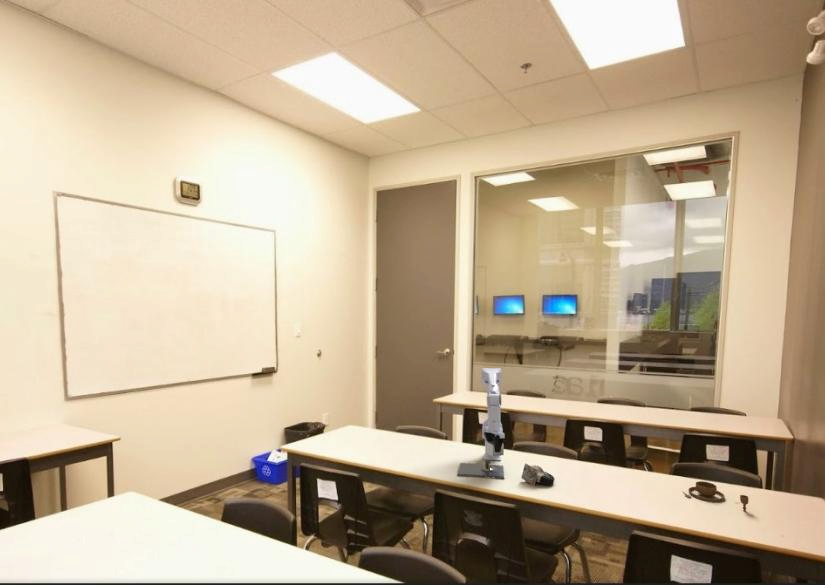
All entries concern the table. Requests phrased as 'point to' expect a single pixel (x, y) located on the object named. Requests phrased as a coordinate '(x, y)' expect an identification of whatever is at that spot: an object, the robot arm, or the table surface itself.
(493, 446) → the collar
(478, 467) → the plate
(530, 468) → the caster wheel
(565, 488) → the table surface
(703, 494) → the place setting
